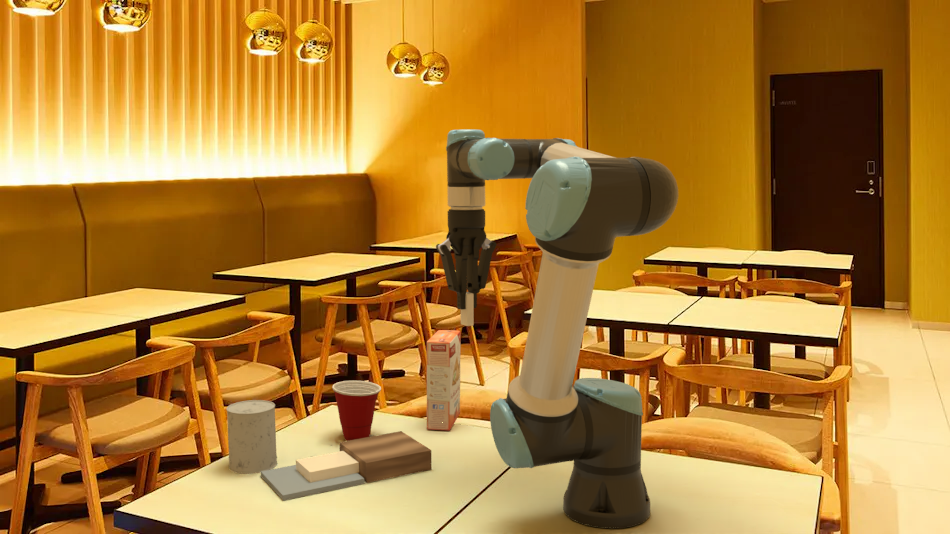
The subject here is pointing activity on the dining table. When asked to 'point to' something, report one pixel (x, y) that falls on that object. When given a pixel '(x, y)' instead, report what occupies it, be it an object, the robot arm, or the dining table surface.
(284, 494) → the mat
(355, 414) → the plastic cup
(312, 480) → the tile
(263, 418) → the speckled stone pillar
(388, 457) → the brown block
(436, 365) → the cracker box
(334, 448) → the dining table surface
